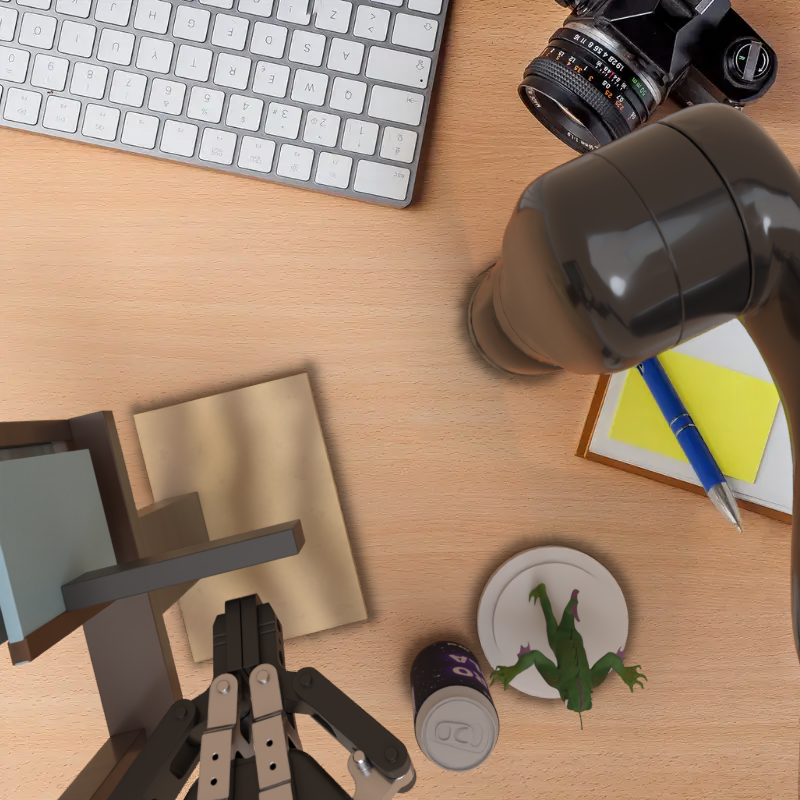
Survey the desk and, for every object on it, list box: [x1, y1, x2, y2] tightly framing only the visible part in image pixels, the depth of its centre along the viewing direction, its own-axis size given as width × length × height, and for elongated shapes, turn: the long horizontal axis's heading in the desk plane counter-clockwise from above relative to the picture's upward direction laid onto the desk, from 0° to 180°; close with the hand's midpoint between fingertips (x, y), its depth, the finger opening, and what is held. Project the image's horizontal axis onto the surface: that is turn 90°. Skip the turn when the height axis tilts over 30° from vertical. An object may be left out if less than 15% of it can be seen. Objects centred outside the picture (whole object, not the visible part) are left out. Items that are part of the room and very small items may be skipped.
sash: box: [0, 449, 306, 667], centre depth 36 cm, size 11×8×11 cm
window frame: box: [0, 409, 210, 800], centre depth 44 cm, size 4×19×34 cm, turn 14°
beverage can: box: [409, 640, 501, 774], centre depth 56 cm, size 6×6×12 cm
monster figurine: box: [476, 544, 649, 731], centre depth 57 cm, size 12×12×10 cm
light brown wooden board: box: [133, 371, 369, 663], centre depth 61 cm, size 14×20×1 cm
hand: (247, 605), depth 36 cm, fingers closed
